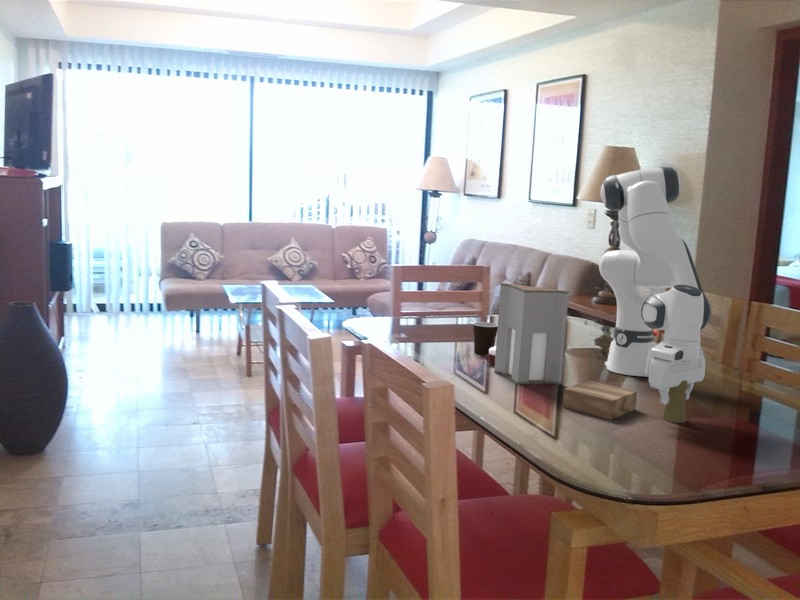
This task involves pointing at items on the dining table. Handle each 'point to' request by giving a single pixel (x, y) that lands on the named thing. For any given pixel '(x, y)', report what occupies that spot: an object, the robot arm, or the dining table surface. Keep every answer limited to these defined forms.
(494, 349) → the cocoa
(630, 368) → the robot arm
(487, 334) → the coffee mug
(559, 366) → the cabinet
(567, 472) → the dining table surface
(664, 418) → the cork
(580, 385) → the wooden block
